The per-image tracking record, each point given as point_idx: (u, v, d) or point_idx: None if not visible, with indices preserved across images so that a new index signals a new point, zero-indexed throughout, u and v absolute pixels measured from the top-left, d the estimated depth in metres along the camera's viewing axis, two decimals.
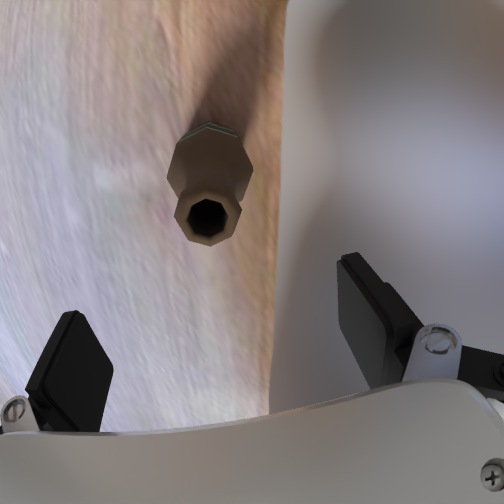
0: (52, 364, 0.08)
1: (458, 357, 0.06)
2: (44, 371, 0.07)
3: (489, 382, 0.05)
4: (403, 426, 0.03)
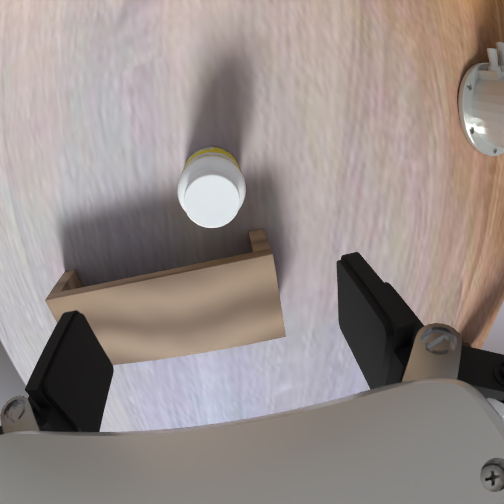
0: (52, 364, 0.08)
1: (458, 357, 0.06)
2: (44, 371, 0.07)
3: (489, 382, 0.05)
4: (403, 426, 0.03)
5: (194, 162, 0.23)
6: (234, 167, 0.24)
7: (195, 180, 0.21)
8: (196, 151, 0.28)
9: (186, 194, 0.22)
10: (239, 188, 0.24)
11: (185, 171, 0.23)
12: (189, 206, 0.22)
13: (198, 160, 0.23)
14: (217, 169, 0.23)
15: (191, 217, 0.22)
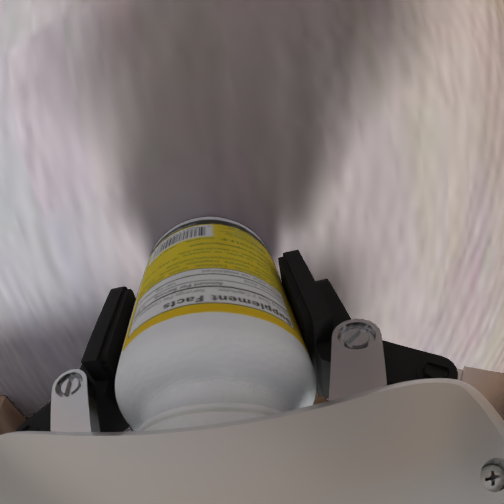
0: (108, 336, 0.09)
1: (380, 347, 0.07)
2: (102, 342, 0.08)
3: None
4: (403, 426, 0.03)
5: (151, 340, 0.07)
6: (291, 354, 0.07)
7: None
8: (171, 235, 0.12)
9: None
10: (301, 407, 0.07)
11: (126, 367, 0.07)
12: None
13: (164, 335, 0.06)
14: (234, 377, 0.06)
15: None
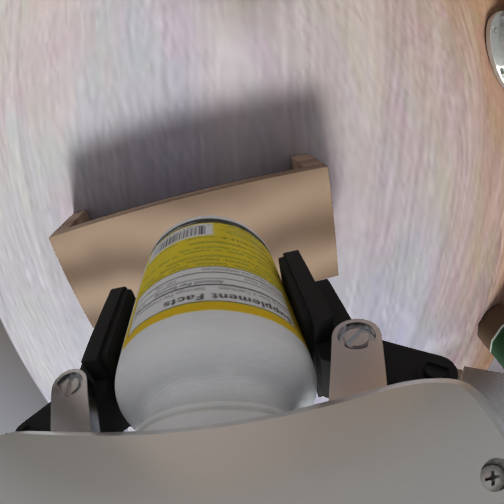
0: (108, 336, 0.09)
1: (381, 347, 0.07)
2: (102, 342, 0.08)
3: None
4: (403, 426, 0.03)
5: (151, 339, 0.06)
6: (291, 352, 0.07)
7: None
8: (171, 233, 0.12)
9: None
10: (303, 406, 0.07)
11: (126, 365, 0.07)
12: None
13: (164, 333, 0.06)
14: (235, 375, 0.06)
15: None
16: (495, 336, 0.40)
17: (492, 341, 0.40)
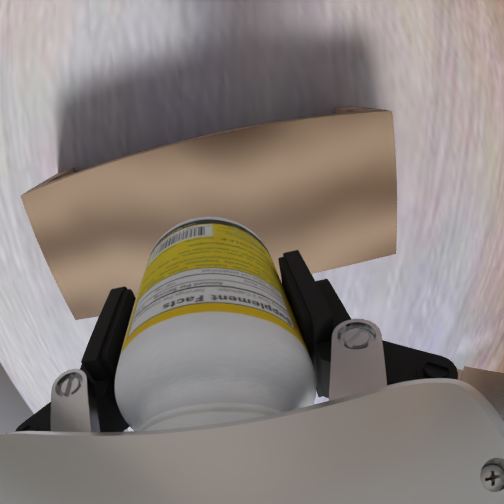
0: (108, 336, 0.09)
1: (381, 347, 0.07)
2: (102, 342, 0.08)
3: None
4: (403, 426, 0.03)
5: (151, 340, 0.06)
6: (291, 354, 0.07)
7: None
8: (170, 234, 0.12)
9: None
10: None
11: (126, 367, 0.06)
12: None
13: (164, 335, 0.06)
14: (234, 377, 0.06)
15: None
16: None
17: None
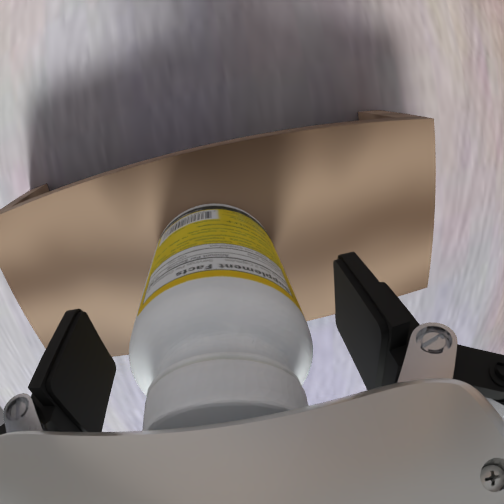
0: (55, 362, 0.08)
1: (454, 356, 0.06)
2: (47, 369, 0.07)
3: (485, 382, 0.05)
4: (403, 426, 0.03)
5: (166, 301, 0.08)
6: (289, 314, 0.08)
7: (170, 413, 0.05)
8: (179, 219, 0.13)
9: None
10: (300, 368, 0.08)
11: (142, 327, 0.08)
12: None
13: (178, 296, 0.08)
14: (239, 332, 0.07)
15: None
16: None
17: None
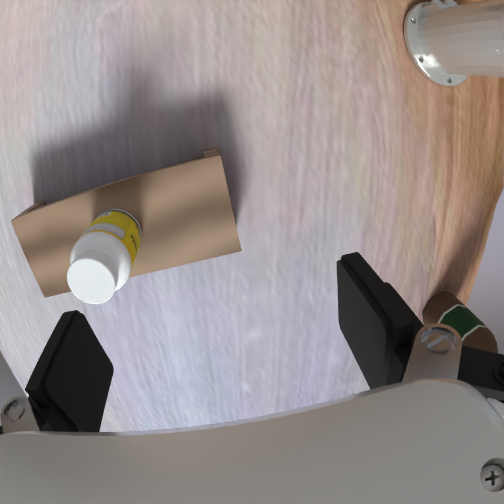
0: (52, 364, 0.08)
1: (458, 357, 0.06)
2: (44, 371, 0.07)
3: (489, 382, 0.05)
4: (403, 426, 0.03)
5: (80, 239, 0.23)
6: (114, 243, 0.23)
7: (72, 263, 0.21)
8: (98, 216, 0.28)
9: (68, 275, 0.21)
10: (120, 263, 0.24)
11: (73, 248, 0.23)
12: (72, 286, 0.21)
13: (83, 237, 0.23)
14: (98, 247, 0.23)
15: (76, 295, 0.22)
16: None
17: None
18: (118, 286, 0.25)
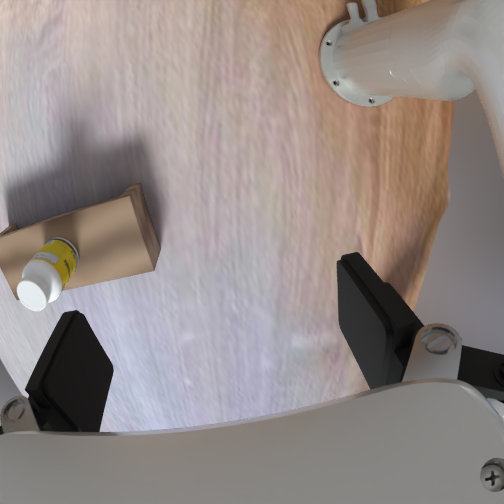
0: (52, 364, 0.08)
1: (458, 357, 0.06)
2: (44, 371, 0.07)
3: (489, 382, 0.05)
4: (403, 426, 0.03)
5: None
6: (47, 268, 0.30)
7: (19, 283, 0.27)
8: (46, 243, 0.34)
9: (17, 291, 0.27)
10: (52, 282, 0.30)
11: (23, 270, 0.29)
12: (20, 298, 0.28)
13: (28, 263, 0.29)
14: (36, 271, 0.29)
15: (23, 304, 0.28)
16: None
17: None
18: (53, 298, 0.31)
